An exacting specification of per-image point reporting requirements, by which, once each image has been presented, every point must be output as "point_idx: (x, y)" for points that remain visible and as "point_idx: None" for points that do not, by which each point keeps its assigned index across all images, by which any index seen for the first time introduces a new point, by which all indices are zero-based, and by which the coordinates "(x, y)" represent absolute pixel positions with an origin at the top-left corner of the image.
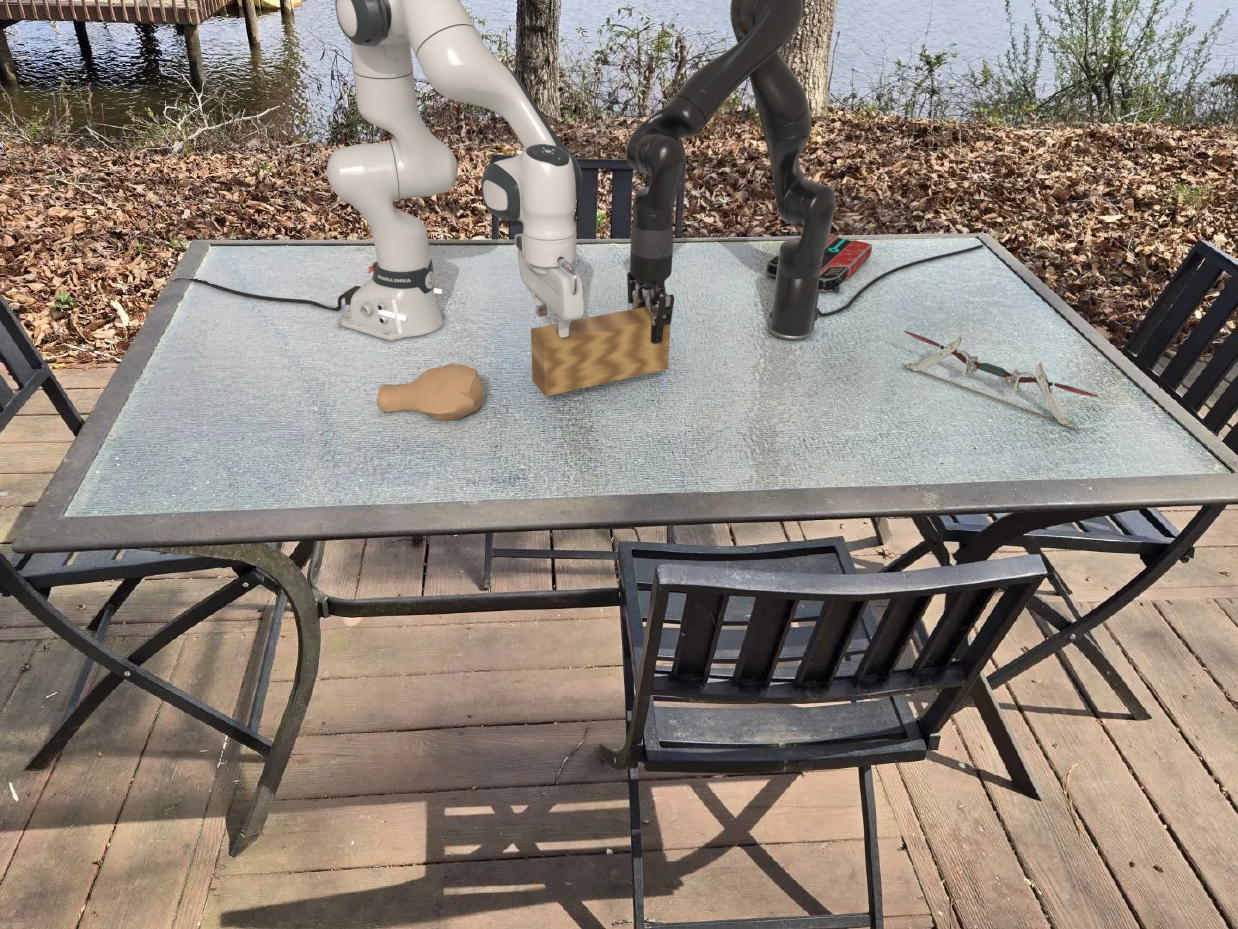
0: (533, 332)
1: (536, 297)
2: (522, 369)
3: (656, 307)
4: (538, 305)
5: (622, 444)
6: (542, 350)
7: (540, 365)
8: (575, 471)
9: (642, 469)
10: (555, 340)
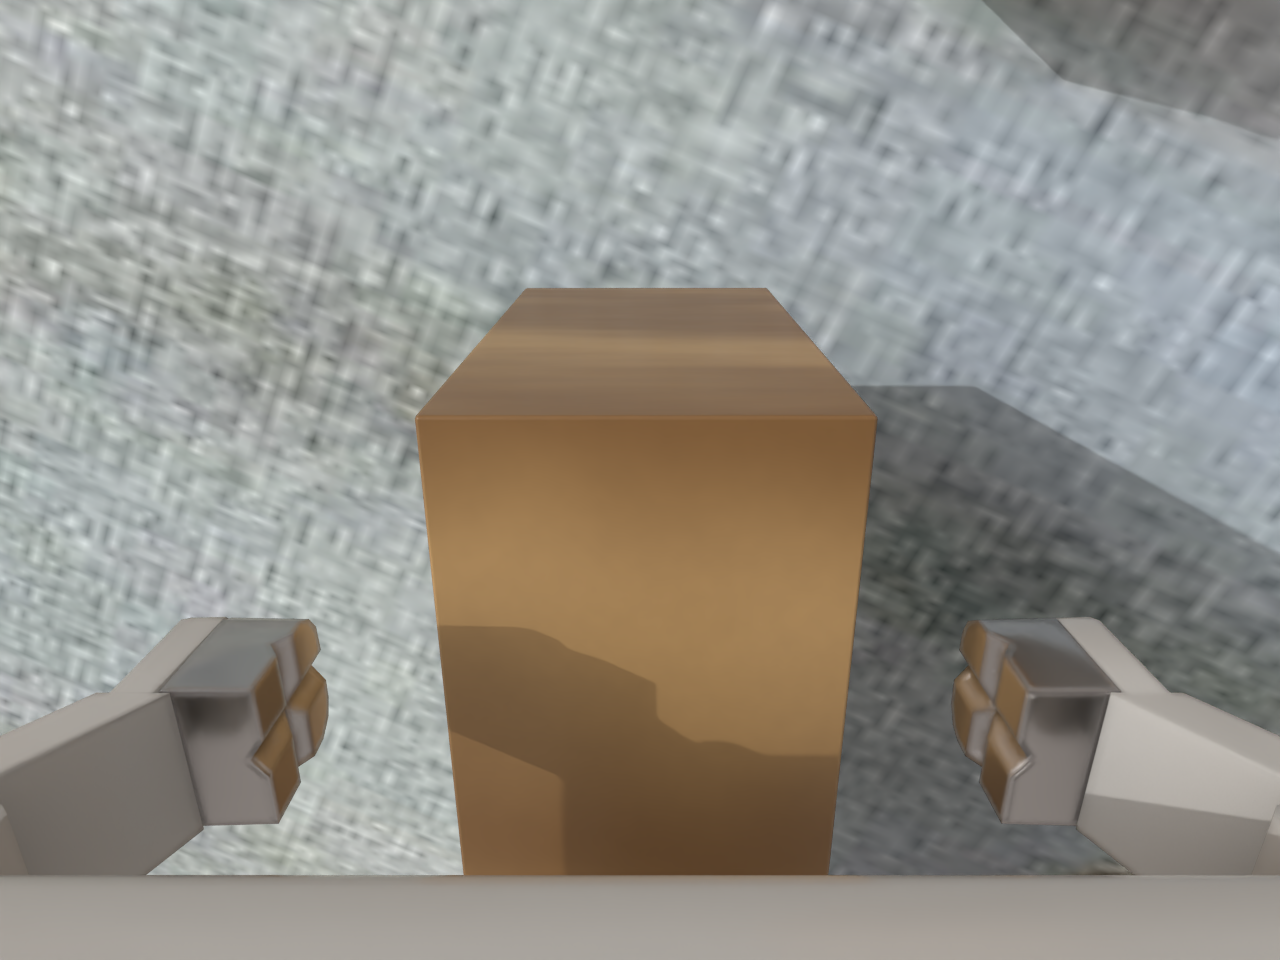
0: (768, 411)
1: (1259, 816)
2: (1220, 385)
3: None
4: (1105, 729)
5: (242, 535)
6: (487, 378)
7: (581, 331)
8: (42, 215)
9: (5, 522)
10: (431, 563)
